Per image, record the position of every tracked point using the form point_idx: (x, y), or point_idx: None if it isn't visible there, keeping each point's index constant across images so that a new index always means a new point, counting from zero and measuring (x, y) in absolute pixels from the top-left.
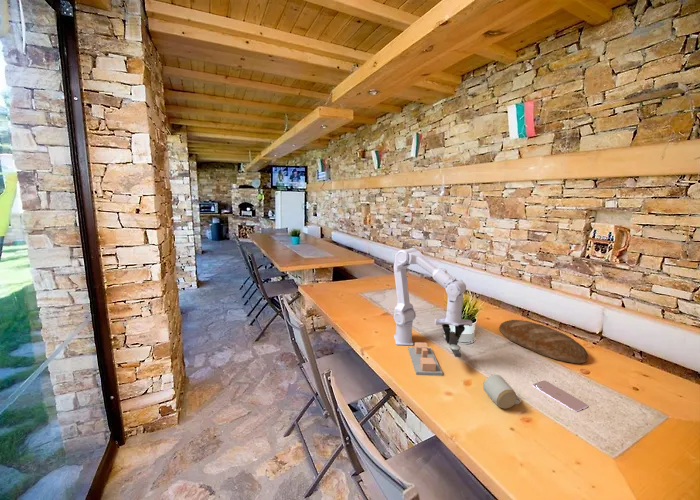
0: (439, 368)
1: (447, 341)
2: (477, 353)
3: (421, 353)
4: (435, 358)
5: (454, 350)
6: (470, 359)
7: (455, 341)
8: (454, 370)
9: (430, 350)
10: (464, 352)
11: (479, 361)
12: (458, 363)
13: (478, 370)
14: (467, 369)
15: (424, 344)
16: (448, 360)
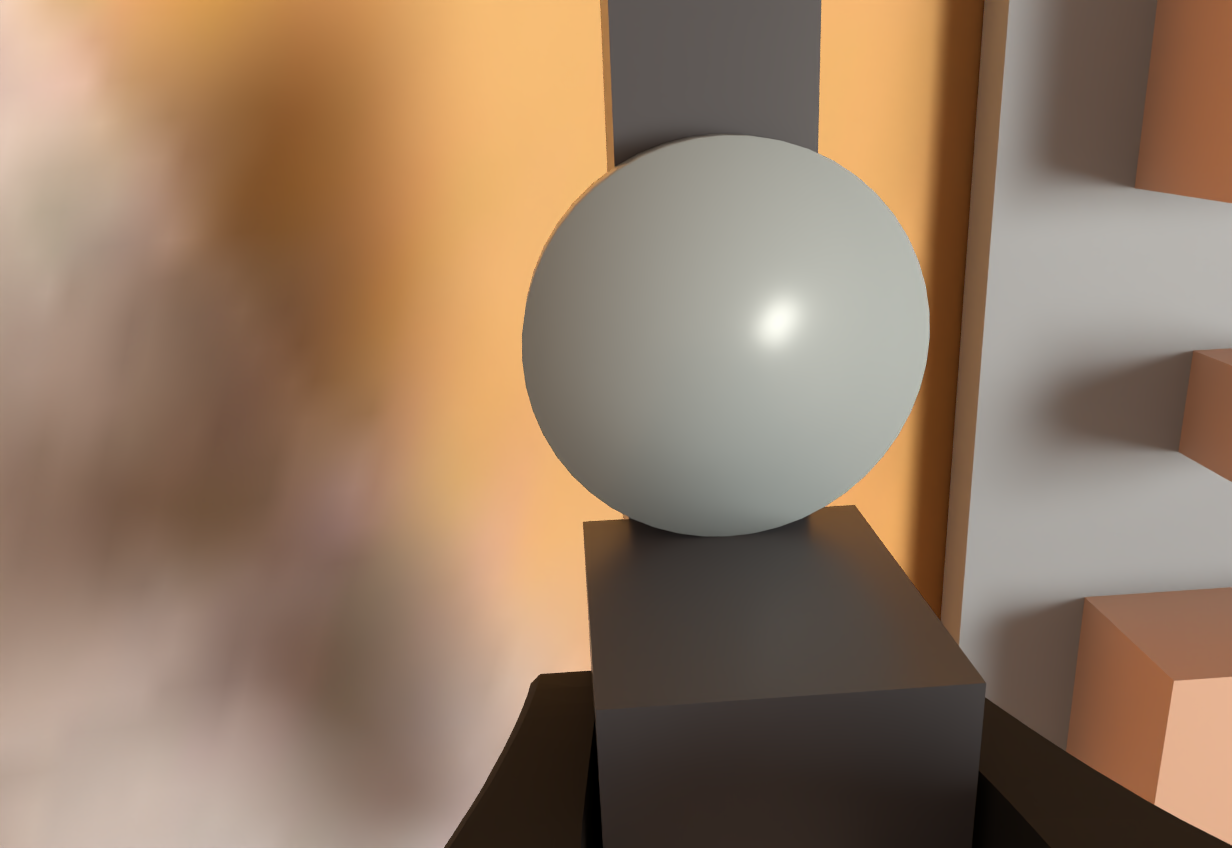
0: (1030, 43)
1: None
2: (13, 801)
3: (1228, 595)
4: (983, 453)
5: (797, 144)
6: (205, 570)
7: (680, 593)
8: None
9: None
10: (276, 803)
11: (24, 517)
12: (499, 390)
13: (114, 154)
14: (357, 170)
15: (1210, 810)
16: None
